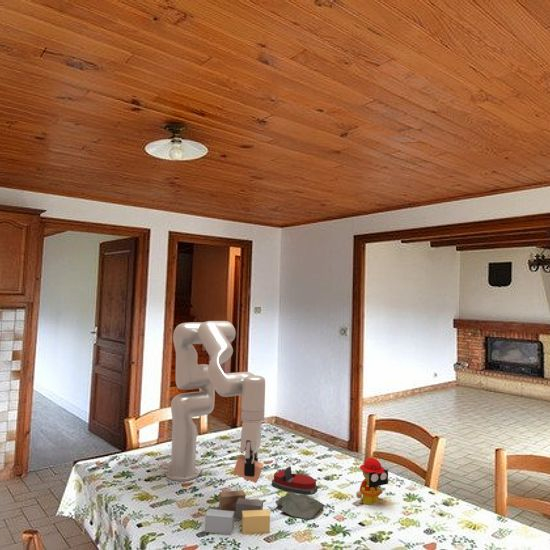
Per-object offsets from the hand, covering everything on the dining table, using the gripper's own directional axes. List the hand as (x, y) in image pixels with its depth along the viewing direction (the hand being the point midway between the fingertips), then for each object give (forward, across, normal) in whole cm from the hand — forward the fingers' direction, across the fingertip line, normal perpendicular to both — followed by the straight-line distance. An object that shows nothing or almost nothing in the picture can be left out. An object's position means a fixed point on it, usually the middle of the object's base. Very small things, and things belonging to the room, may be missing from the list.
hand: (250, 472), depth 142 cm
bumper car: (+14, -28, +10) cm, 33 cm away
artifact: (+14, -10, +15) cm, 23 cm away
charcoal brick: (+14, 0, 0) cm, 14 cm away
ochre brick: (+14, +7, +3) cm, 16 cm away
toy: (+14, -21, +39) cm, 46 cm away
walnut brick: (+14, -5, -7) cm, 17 cm away
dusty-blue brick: (+14, +9, -7) cm, 18 cm away
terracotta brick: (+1, 0, -2) cm, 2 cm away
